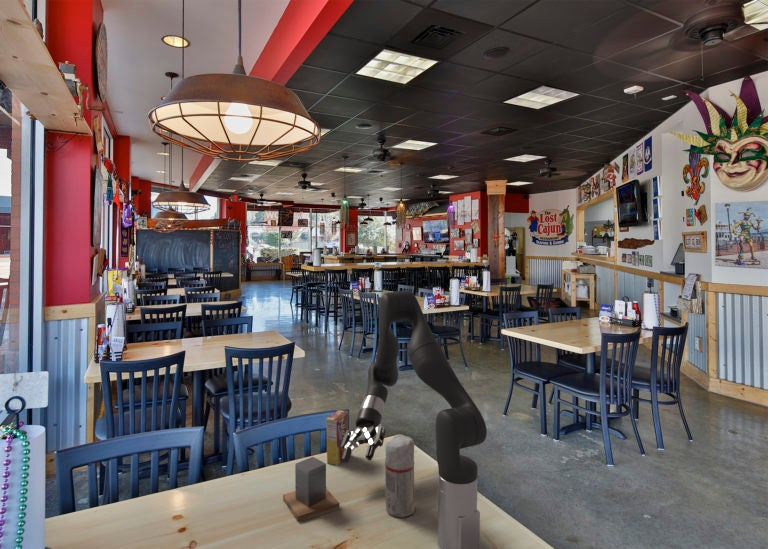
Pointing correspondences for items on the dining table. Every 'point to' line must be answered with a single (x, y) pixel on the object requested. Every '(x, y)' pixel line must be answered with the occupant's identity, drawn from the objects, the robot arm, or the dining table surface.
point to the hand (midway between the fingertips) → (356, 460)
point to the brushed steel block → (310, 481)
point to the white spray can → (400, 476)
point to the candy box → (336, 436)
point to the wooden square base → (306, 512)
